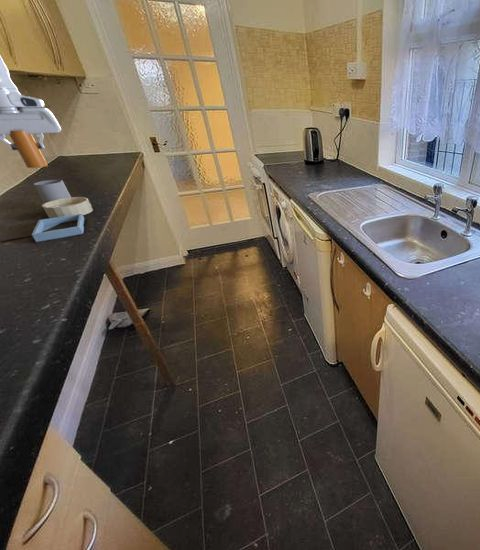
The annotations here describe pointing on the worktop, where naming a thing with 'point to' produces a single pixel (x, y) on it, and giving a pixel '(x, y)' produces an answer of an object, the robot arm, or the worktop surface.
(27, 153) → the orange capped cylinder
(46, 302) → the worktop surface
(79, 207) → the bowl
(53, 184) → the cup
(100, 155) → the worktop surface
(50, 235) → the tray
